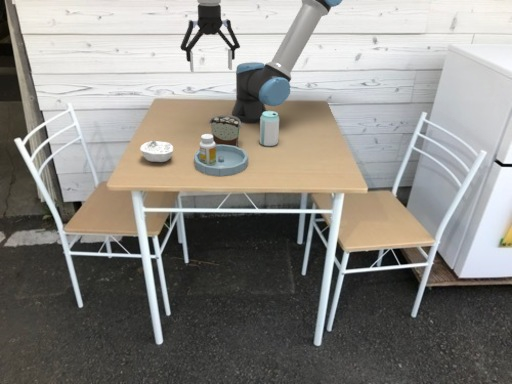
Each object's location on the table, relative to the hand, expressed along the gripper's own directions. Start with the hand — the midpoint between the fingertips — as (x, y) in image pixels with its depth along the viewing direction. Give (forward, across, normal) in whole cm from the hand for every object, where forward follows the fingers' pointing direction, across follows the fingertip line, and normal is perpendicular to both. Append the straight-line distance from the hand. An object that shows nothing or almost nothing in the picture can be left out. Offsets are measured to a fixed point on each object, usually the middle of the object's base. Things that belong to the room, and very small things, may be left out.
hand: (211, 70), depth 143 cm
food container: (+27, -5, +4) cm, 28 cm away
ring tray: (+27, +1, +20) cm, 33 cm away
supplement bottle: (+26, +6, +20) cm, 33 cm away
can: (+27, -20, +8) cm, 34 cm away
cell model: (+27, +22, +13) cm, 37 cm away
